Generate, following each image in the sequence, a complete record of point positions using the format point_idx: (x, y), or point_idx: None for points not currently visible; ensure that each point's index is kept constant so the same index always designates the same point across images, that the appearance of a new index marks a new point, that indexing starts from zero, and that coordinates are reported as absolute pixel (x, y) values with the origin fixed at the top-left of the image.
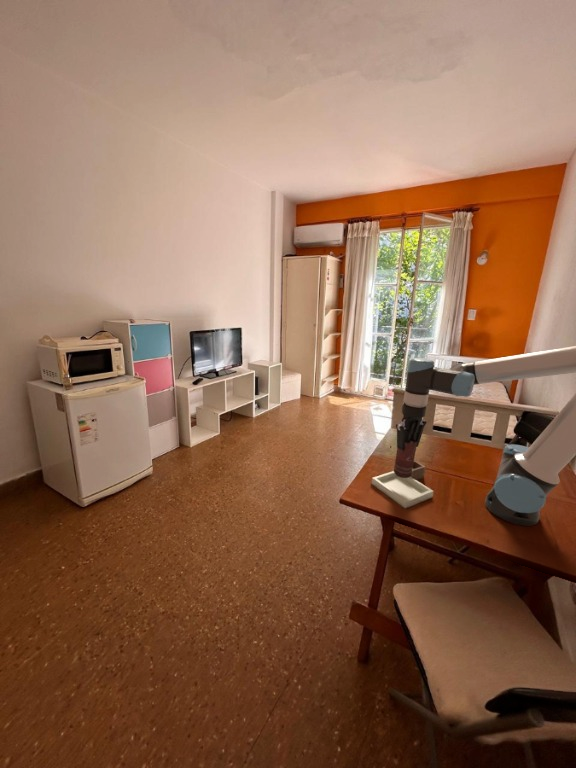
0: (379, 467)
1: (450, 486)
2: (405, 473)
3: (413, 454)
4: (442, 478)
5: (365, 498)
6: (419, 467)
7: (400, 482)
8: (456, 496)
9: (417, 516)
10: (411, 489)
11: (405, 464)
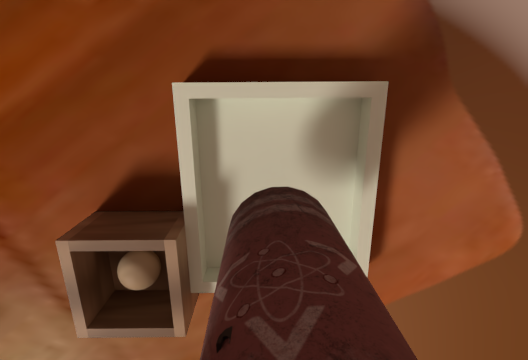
0: None
1: (16, 105)
2: (314, 203)
3: (296, 279)
4: (4, 170)
5: (462, 210)
6: (99, 249)
7: None
8: (54, 30)
9: (373, 11)
10: (236, 166)
11: (340, 240)
